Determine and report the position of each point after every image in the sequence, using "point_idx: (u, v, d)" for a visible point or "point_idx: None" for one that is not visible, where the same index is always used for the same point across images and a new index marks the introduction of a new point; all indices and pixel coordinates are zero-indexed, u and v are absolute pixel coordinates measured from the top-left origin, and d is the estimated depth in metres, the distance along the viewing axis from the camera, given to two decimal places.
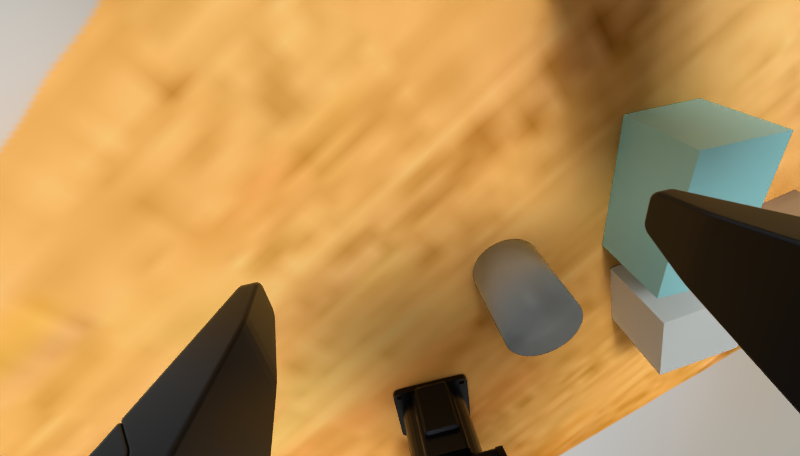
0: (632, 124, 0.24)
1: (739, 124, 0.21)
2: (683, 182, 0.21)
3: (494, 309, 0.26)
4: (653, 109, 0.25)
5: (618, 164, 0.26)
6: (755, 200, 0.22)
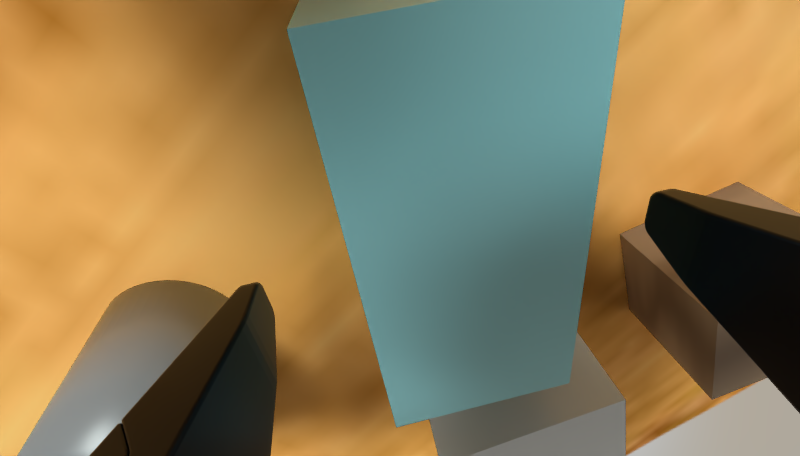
0: None
1: None
2: None
3: None
4: None
5: None
6: (568, 205, 0.08)
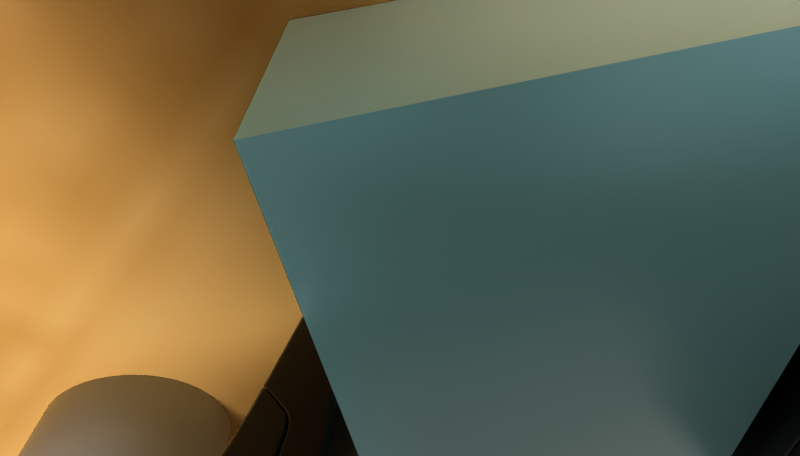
0: None
1: (647, 0, 0.04)
2: None
3: None
4: (388, 3, 0.07)
5: None
6: (739, 380, 0.05)
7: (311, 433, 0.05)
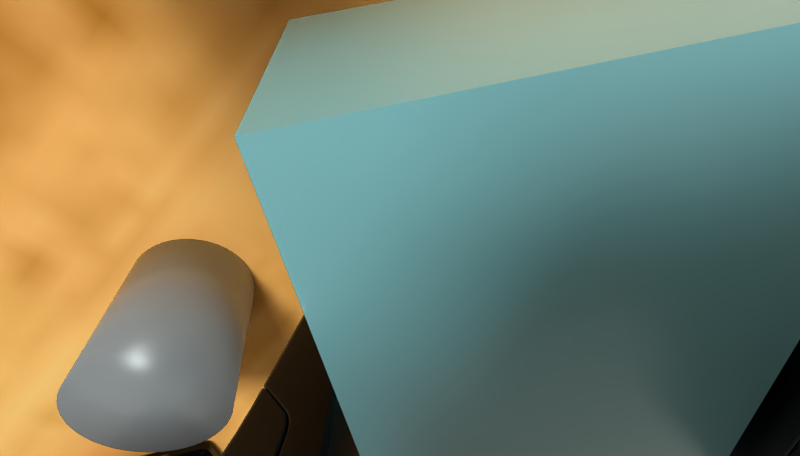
0: None
1: None
2: None
3: None
4: (389, 2, 0.07)
5: None
6: (738, 378, 0.05)
7: (311, 433, 0.05)
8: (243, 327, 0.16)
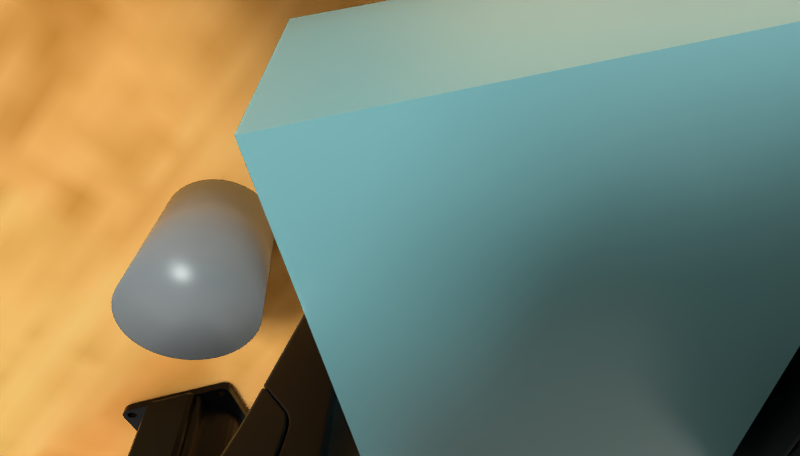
0: None
1: None
2: None
3: None
4: (389, 1, 0.07)
5: None
6: (741, 378, 0.05)
7: (311, 433, 0.05)
8: (268, 256, 0.18)
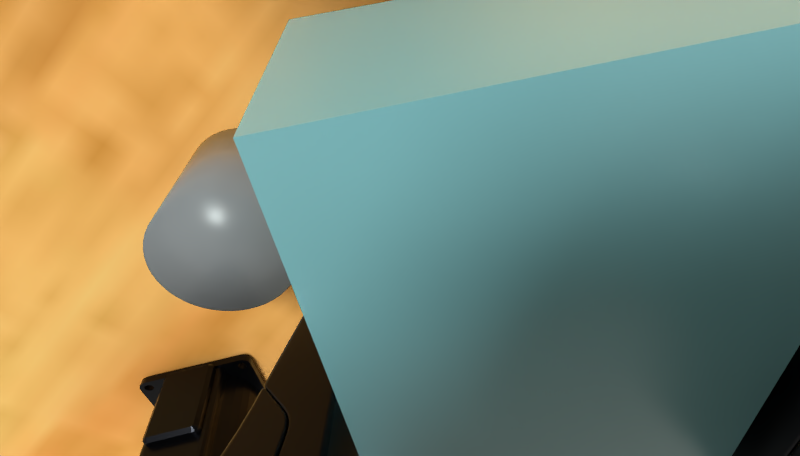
0: None
1: None
2: None
3: None
4: (389, 2, 0.07)
5: None
6: (740, 379, 0.05)
7: (311, 433, 0.05)
8: None
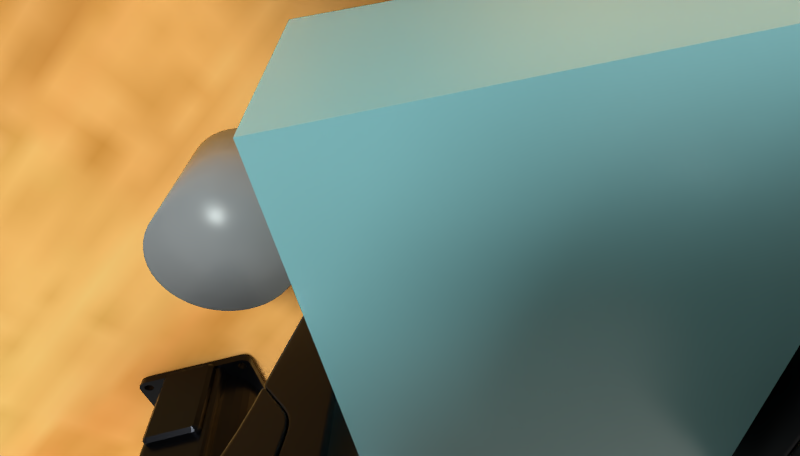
0: None
1: None
2: None
3: None
4: (389, 2, 0.07)
5: None
6: (740, 379, 0.05)
7: (311, 433, 0.05)
8: None
